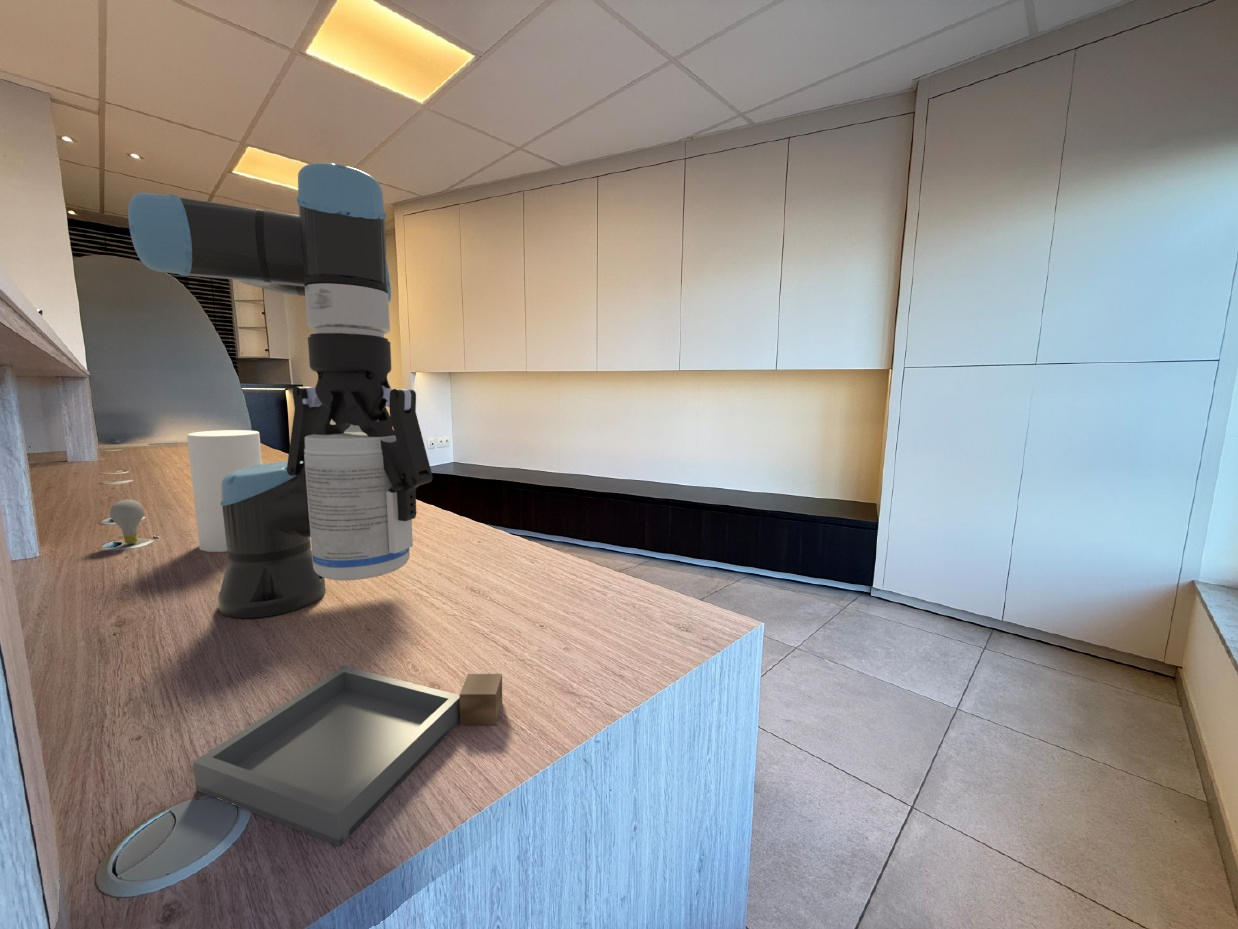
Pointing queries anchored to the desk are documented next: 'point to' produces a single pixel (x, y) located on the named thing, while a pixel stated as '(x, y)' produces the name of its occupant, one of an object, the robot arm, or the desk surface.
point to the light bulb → (127, 518)
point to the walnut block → (481, 700)
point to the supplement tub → (349, 506)
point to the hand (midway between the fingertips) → (361, 544)
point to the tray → (330, 752)
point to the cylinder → (217, 477)
